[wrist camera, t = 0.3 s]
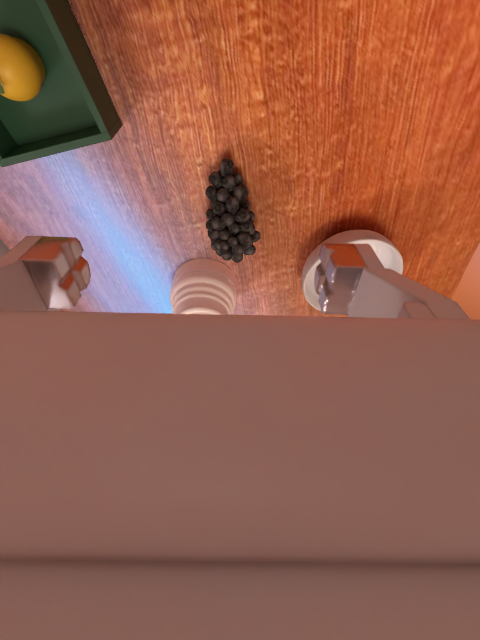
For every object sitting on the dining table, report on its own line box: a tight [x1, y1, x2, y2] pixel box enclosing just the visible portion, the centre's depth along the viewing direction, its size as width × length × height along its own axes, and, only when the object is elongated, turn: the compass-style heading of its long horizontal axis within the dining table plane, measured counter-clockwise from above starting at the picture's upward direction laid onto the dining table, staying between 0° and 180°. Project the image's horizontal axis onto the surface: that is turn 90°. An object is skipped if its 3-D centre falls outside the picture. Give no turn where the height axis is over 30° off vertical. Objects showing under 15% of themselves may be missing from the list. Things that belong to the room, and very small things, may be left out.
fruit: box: [206, 159, 260, 263], centre depth 47 cm, size 9×8×15 cm
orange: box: [0, 33, 45, 101], centre depth 33 cm, size 6×6×7 cm
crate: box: [0, 0, 122, 167], centre depth 35 cm, size 17×16×5 cm
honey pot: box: [170, 259, 237, 315], centre depth 57 cm, size 13×13×18 cm
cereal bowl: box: [302, 229, 403, 311], centre depth 55 cm, size 17×17×7 cm
